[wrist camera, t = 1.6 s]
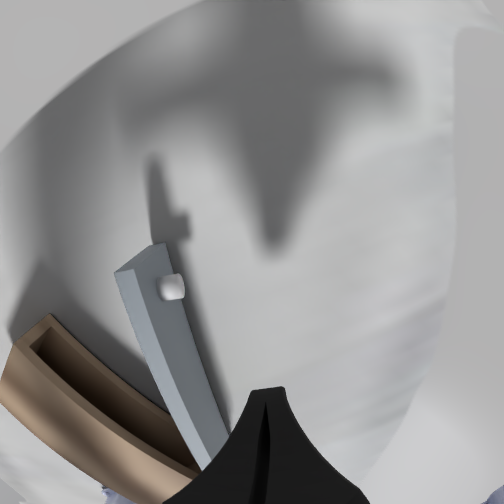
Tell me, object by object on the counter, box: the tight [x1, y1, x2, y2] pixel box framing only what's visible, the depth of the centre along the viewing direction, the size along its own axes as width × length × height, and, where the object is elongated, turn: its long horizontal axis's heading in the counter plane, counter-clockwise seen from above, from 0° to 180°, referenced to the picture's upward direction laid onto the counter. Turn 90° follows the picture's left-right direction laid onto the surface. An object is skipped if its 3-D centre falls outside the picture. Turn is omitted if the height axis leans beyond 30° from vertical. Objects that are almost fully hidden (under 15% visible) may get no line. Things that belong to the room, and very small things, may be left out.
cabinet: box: [0, 313, 202, 504], centre depth 18 cm, size 9×17×4 cm, turn 46°
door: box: [114, 243, 229, 471], centre depth 16 cm, size 2×17×4 cm, turn 11°
